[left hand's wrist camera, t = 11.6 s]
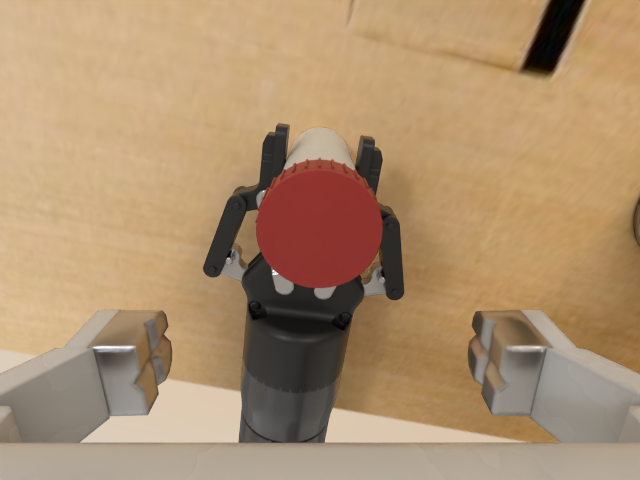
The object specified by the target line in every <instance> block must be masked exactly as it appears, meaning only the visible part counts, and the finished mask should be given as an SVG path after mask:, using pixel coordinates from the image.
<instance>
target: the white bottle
mask: <svg viewBox="0 0 640 480" xmlns="http://www.w3.org/2000/svg"><path fill="white" fill-rule="evenodd" d="M318 158H321V160H330V161H331V159H333V160H334V162H338V163H341V164H343V163H345V164H346V166H347V167H349V168H351V169H352V170H354V169H355V167H354V164H353V161H352V159H351V156H350V153H349V150H348V148H347V145H346V143H345V141H344V140H343V138H342V137H341V136H340V135H339V134H338V133H336V132H335V131H333V130H331V129H328V128H324V127H315V128H311V129H308V130H306V131H304V132H303V133H301V134H300V135H299V136H298V137H297V138H296V140H295V141H294V143H293V145H292V147H291V150H290V153H289V155H288V158H287V161H286V163H285V166H284V169H285V170H286V169H288V168H290V167H292V166H293V164H294V163H296V164H298V163H301V162H304V161H306V159H308V160H318ZM355 170H356V169H355Z"/></svg>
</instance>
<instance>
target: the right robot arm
mask: <svg viewBox="0 0 640 480" xmlns="http://www.w3.org/2000/svg"><path fill="white" fill-rule="evenodd" d="M289 129H290V125H287V124H280V123H278V125H277V126H276V131H275V133H274V132H269V133H268V134H267V136H266V138H265V140H264V142H263V148H262V160H261V171H260V182H259V183H258V184H257V185H255V186H250V187H245V186H240V187H238V188H237V189H236V190H235V191H234V193H233V195H232V196H231V197H230V198H229V200H228V201H227V204H226V206H225V209H224V212H223V215H222V217H221V220H220V223H219V225H218V228H217V231H216V234H215V236H214V239H213V242H212V244H211V247H210V250H209V253H208V255H207V258H206V261H205V263H204V266H203V270H204V273H205V274H206V275H207V276H209V277H217V276H219V275H220V274H224V275H227V276H229V277H232V278H235V279H237V280H240V281H242V286H243V288H244V290H245V292H246V295H247V299H248V303H247V315H246V326H245V338H244V349H243V361H242V373H241V397H242V411H241V422H240V432H239V443H325V436H326V431H327V426H328V421H329V417H330V413H331V411H332V408H333V405H334V403H335V400H336V396H337V392H338V387H339V382H340V377H341V372H342V367H343V362H344V357H345V352H346V346H347V341H348V336H349V331H350V326H351V321H352V316H353V313H354V310H355V309H356V307H357V306H358V305H359V304H360V303H361V302H362V300H363V298H364V296H370V295H379V294H386V295H387V297H388V298H389V299H391V300H398V299H400V298H401V297H402V296H403V294H404V283H403V268H402V254H401V239H400V225H399V222H398V220H397V218H396V216H395V214H394V212H393V210H392V209H391V208H390V207H388V206H383V205H381V204H379V203H378V204H379V206H380V208H381V211H380V214H381V218H382V220H383V224H382V227H383V231H382V240H381V244H380V247H379V257H380V262H376V263H374V264H373V265H372V266H371V268H370V273H369V275H368V276H367V277H366V278H363V279H362V278H361V277H360V275H359V276H357V277H355V278H354V279H352V280H351V281H348V282H346V283H344V284H341V285H338V286H334V287H329V288H310V287H304V286H301V285H297V284H295V283H292V282H290V281H288V280H286V279H285V278H283V277H282V276H280V275H279V274H278V273H277V272H276V271H274V270H273V269H272V268H271V266H270V265H269V264H268V263H267V261H266V260H265V258H264V257H263V255H262V253H261V252H260V253H259V254H258V255H257V256H256V257H255V258H254V259H253V260H252V261H251V262H250V263H249V264H246V263H245V262H244V261H243V260H242V248H241V247H240V246H239V245H238V244H235V243H234V242H235V239H236V237H237V234H238V232H239V229H240V227H241V224H242V221H243V219H244V216H245V214H246V211H251V210H255V209H258V208H259V206H260V203H261V201H262V198H263V196H264V194H265V191H266V189H267V187H269V188H270V186H271V184H272V181H273V179H274V178H275V177H276V178H277V177H278V176H279V175H280V174H281V173H282V171H283V169H284V166H285V163H286V157H287V147H288V138H289ZM374 146H375V140H374V139H373V138H372V137H368V136H362V135H361V137H360V141H359V147H358V153H357V158H356V164H355V169H356V170H357V173H358V174H359V175H360V176H361V177H362V178H365V179H366V181H367V184H368V186H369V188H372V190H373V192H374V194H375V196H376V191H377V186H378V181H379V176H380V171H381V166H382V161H383V159H382V154H381V151H380V150H379V148H377V147H374ZM634 231H635V236H636V239H637V241H638V243H639V245H640V201H639V203H638V206H637V209H636V212H635V217H634Z"/></svg>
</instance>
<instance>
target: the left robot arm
mask: <svg viewBox="0 0 640 480" xmlns="http://www.w3.org/2000/svg"><path fill="white" fill-rule="evenodd" d="M167 328H168V322H167V317H166V314H165V313H164V312H163V311H154V310H100V311H97V312H96V313H95V314H94V315H93V316H92V317H91V319H90V320H89V321H88V322H87V323H86V324H85V325H84V326H83V327H82V328H81V329H80V330H79V331H78V332H77V333H76V334H75V335H74V337H73V338H72V339H71V340H70V341H69V342H68V343H67V344H66V345H65V346H64V347H63V348H55V349H53V350H51V351H49V352H46V353H44V354H42V355H40V356H38V357H35V358H33V359H31V360H29V361H27V362H24V363H22V364H20V365H18V366H16V367H14V368H11V369H9V370H7V371H5V372H3V373H0V480H640V374H639V373H637V372H635V371H633V370H631V369H629V368H626V367H624V366H622V365H620V364H618V363H615V362H613V361H611V360H609V359H607V358H605V357H602V356H600V355H598V354H596V353H594V352H591V351H589V350H587V349H585V348H577V347H576V346H575V345H574V344H573V343H572V342H571V341H570V340H569V339H568V338H567V337H566V335H565V334H564V333H563V332H562V331H561V330H560V329H559V328H558V327H557V326H556V325H555V324H554V323H553V322H552V321H551V320H550V318H549V317H548V316H547V315H546V314H545V313H544V312H543V311H540V310H538V309H536V310H506V311H476V312H475V315H474V317H473V322H472V328H473V329H474V331H475V333H476V335H475V336H474V337H473V338H472V339H471V340H470V341H469V348H468V362H469V367H470V371H471V374H472V376H473V378H474V380H475V381H476V382H478V383H479V384H481V385H482V386H483V387H482V393H481V394H482V396H483V398H484V400H485V402H486V404H487V406H488V408H489V410H490V412H491V414H492V415H505V416H531V417H530V418H531V419H532V420H533V421H535V422H536V423H537V424H538V425H540V426H541V427H542V428H543V429H545V430H546V431H547V432H548V433H550V434H551V435H552V436H553V437H555V438H556V439H557V440H558V441H559V442H561V443H79V442H81V441H82V440H83V439H84V438H86V437H87V436H88V435H89V434H91V433H92V432H93V431H94V430H96V429H97V428H98V427H99V426H101V425H102V424H103V423H104V422H105V421H107V420H108V419H109V418H110V417H109V416H134V415H148V414H149V412H150V410H151V408H152V406H153V404H154V402H155V400H156V398H157V396H158V394H159V393H158V387H157V386H158V385H159V384H161V383H162V382H164V381H165V380H166V378H167V376H168V374H169V372H170V367H171V362H172V347H171V341H170V340H169V339H168V338H167V337H166V336H165V335H164V333H165V331H166V329H167Z"/></svg>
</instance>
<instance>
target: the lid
mask: <svg viewBox="0 0 640 480" xmlns="http://www.w3.org/2000/svg"><path fill="white" fill-rule="evenodd" d="M258 211H259V213H258V217H257V219H256V223H257V224H256V235H257V241H258V245H259V248H260V250H261V253H262V255H263V257H264V258H265V260H266V261H267V263H268V264H269V265H270V266H271V268H272V269H273V270H274V271H276V272H277V273H278V274H279V275H280V276H282V277H283V278H285V279H286V280H288V281H290V282H292V283H295V284H297V285H301V286H304V287H310V288H329V287H334V286H338V285H341V284H344V283H346V282H348V281H351V280H352V279H354V278H355V277H357V276H359V275H360V274H361V273H362V272H363V271H364V270H365V269H366V268H367V267H368V266H369V265H370V264H371V262H372V261H373V260H374V258H375V256H376V254H377V252H378V250H379V247H380V244H381V240H382V231H383V227H382V224H383V220H382V218H381V214H380V211H381V208H380V206H379V204H378V202H377V200H376V196H375V194H374V192H373V190H372V188H369V186H368V184H367V181H366V179H365V178H362V177H361V176H360V175H359V174H358V173H357V170H355V169H354V170H352V169H351V168H349V167H347V166H346V164H345V163H343V164H341V163H338V162H334V160H333V159H331V161H330V160H321V158H318V160H308V159H306V161H304V162H301V163H298V164H296V163H294V164H293V166H292V167H290V168H288V169H286V170H285V169H283V171H282V173H281V174H280V175H279V176H278V177H277V178H276V177H275V178H274V179H273V181H272V184H271V186H270V188H269V187H267V189H266V191H265V194H264V196H263V198H262V201H261V203H260V206H259V208H258Z"/></svg>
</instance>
